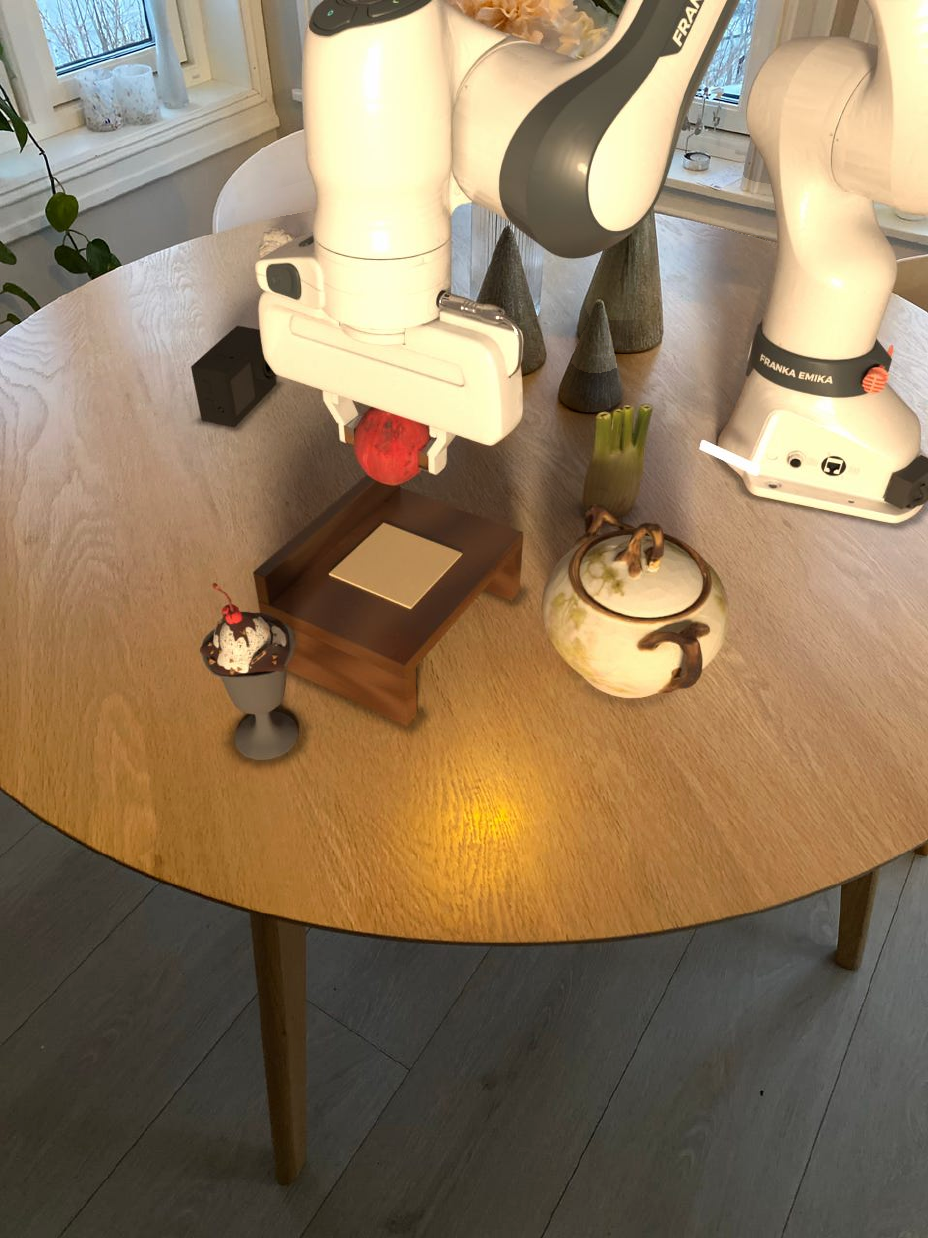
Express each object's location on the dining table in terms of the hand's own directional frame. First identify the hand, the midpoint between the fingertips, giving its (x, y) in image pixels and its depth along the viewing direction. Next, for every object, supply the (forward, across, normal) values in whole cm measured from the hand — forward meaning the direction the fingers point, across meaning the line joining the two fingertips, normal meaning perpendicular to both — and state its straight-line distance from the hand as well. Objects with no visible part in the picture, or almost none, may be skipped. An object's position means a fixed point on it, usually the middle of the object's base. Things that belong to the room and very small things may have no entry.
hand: (392, 454), depth 73 cm
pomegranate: (+3, 0, 0) cm, 3 cm away
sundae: (+18, +2, +16) cm, 24 cm away
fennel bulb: (+18, -9, -25) cm, 32 cm away
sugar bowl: (+18, -19, -6) cm, 27 cm away
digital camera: (+18, +36, -22) cm, 46 cm away
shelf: (+18, 0, 0) cm, 18 cm away
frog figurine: (+18, +54, -52) cm, 77 cm away
